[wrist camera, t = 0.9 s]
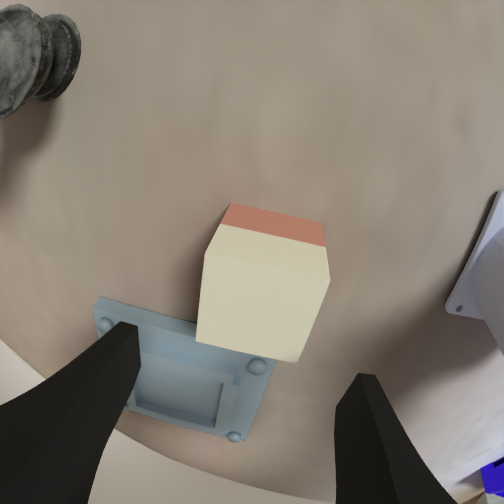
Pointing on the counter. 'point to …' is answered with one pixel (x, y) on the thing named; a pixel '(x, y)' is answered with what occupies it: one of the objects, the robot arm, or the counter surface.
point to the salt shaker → (35, 56)
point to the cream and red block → (262, 283)
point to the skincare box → (490, 499)
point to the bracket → (493, 479)
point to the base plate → (189, 374)
